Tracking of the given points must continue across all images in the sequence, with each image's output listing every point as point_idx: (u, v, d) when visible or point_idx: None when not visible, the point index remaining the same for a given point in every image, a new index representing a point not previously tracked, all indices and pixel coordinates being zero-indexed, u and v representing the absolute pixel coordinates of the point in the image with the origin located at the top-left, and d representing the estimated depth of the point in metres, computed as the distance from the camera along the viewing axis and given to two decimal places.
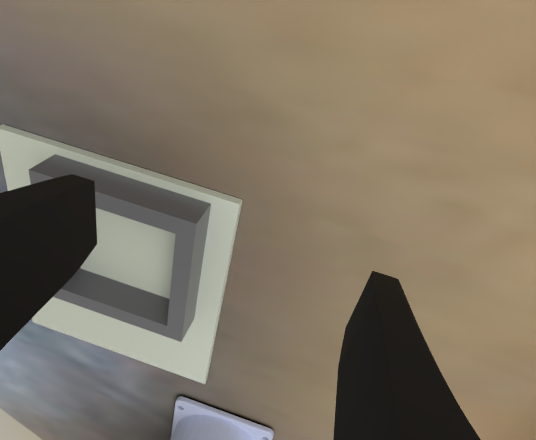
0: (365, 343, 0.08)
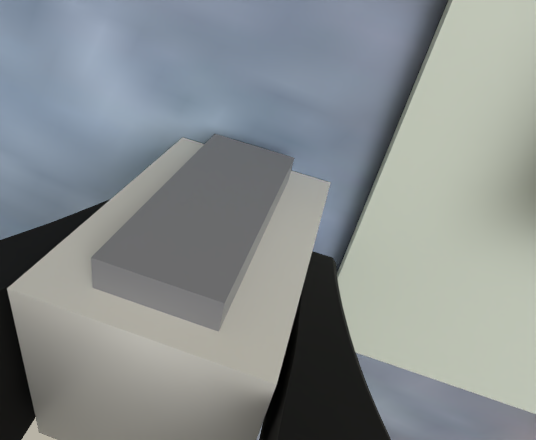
0: None
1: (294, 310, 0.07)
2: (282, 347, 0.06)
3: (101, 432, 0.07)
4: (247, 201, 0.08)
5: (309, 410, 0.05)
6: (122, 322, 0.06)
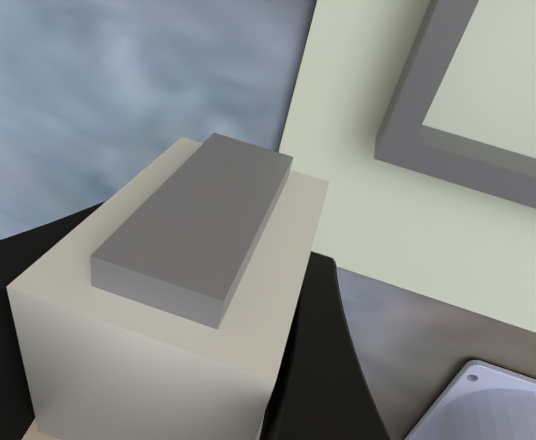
0: None
1: (293, 308, 0.07)
2: (281, 345, 0.06)
3: (100, 430, 0.07)
4: (246, 200, 0.08)
5: (309, 410, 0.05)
6: (122, 321, 0.06)
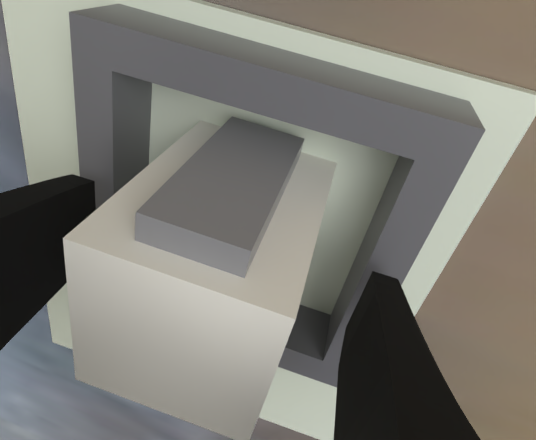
0: (365, 343, 0.08)
1: (308, 264, 0.08)
2: (299, 292, 0.07)
3: (134, 375, 0.08)
4: (265, 173, 0.09)
5: None
6: (163, 268, 0.07)
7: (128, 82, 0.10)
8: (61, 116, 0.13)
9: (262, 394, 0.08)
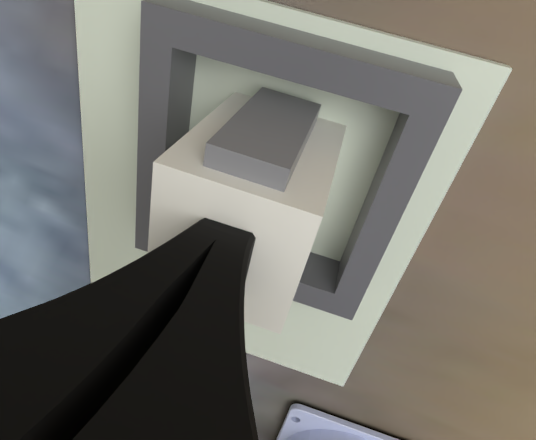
0: None
1: (329, 187, 0.10)
2: (323, 202, 0.09)
3: None
4: (293, 125, 0.11)
5: (169, 360, 0.06)
6: (226, 182, 0.09)
7: (181, 58, 0.13)
8: (116, 91, 0.15)
9: (294, 285, 0.10)
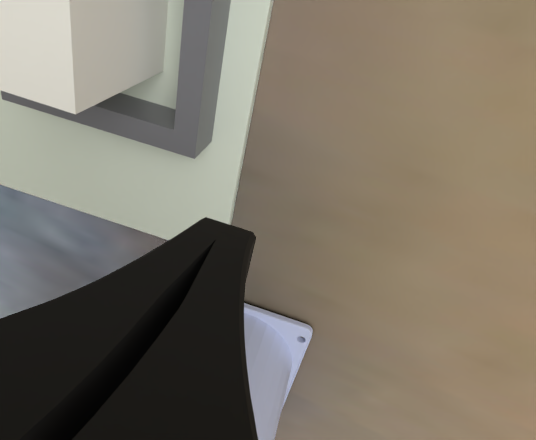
0: None
1: None
2: None
3: None
4: None
5: (169, 360, 0.06)
6: None
7: None
8: None
9: (69, 51, 0.12)
